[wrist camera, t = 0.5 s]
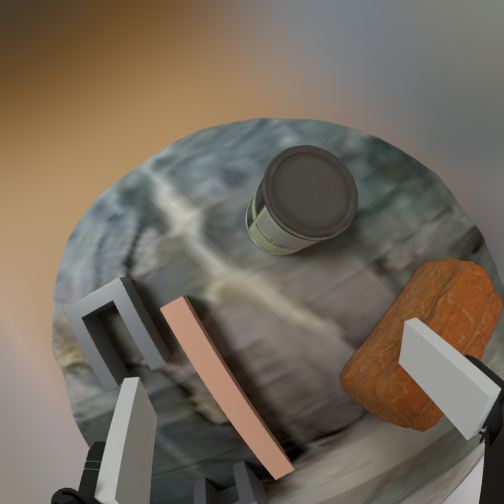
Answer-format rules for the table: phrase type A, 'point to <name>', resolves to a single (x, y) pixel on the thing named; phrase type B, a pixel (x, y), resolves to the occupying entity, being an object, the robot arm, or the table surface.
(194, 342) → the slat
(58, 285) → the table surface
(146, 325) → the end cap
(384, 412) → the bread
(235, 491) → the cap
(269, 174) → the coffee can
